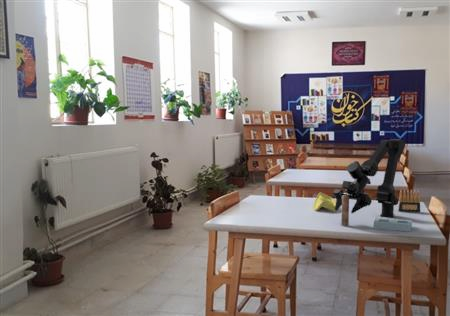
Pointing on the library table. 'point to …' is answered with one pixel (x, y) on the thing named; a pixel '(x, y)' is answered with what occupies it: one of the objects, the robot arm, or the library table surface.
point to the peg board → (393, 224)
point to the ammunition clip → (407, 205)
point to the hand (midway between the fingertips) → (343, 211)
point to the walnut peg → (345, 210)
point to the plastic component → (324, 202)
